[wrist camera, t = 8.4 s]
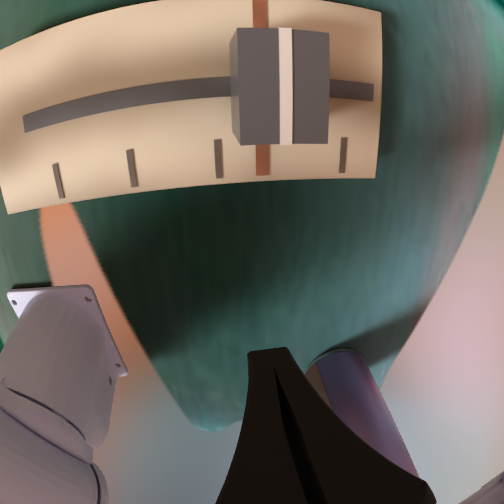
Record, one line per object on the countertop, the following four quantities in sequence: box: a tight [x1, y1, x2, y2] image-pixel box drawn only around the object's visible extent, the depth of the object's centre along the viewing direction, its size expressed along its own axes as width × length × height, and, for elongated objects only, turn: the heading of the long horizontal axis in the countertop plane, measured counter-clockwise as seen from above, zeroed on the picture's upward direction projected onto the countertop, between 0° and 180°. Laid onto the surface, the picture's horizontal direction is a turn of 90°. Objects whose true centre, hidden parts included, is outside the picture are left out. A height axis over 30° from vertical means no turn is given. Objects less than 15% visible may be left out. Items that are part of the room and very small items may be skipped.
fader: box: [229, 27, 330, 146], centre depth 10 cm, size 4×3×4 cm
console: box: [0, 0, 382, 214], centre depth 13 cm, size 9×20×3 cm, turn 91°
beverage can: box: [305, 349, 419, 478], centre depth 20 cm, size 6×6×15 cm
